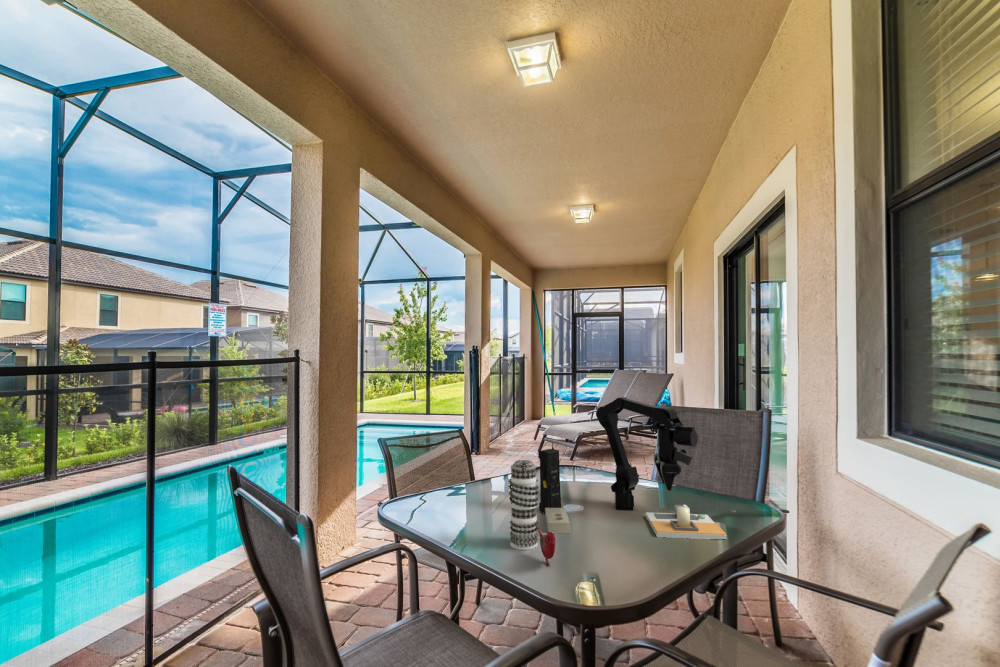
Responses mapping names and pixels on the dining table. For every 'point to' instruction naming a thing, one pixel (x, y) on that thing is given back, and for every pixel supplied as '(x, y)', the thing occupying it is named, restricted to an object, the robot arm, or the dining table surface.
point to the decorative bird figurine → (547, 545)
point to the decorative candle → (523, 505)
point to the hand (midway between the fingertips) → (666, 486)
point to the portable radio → (549, 479)
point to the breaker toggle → (676, 508)
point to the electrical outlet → (557, 520)
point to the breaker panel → (698, 522)
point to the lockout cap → (683, 516)
